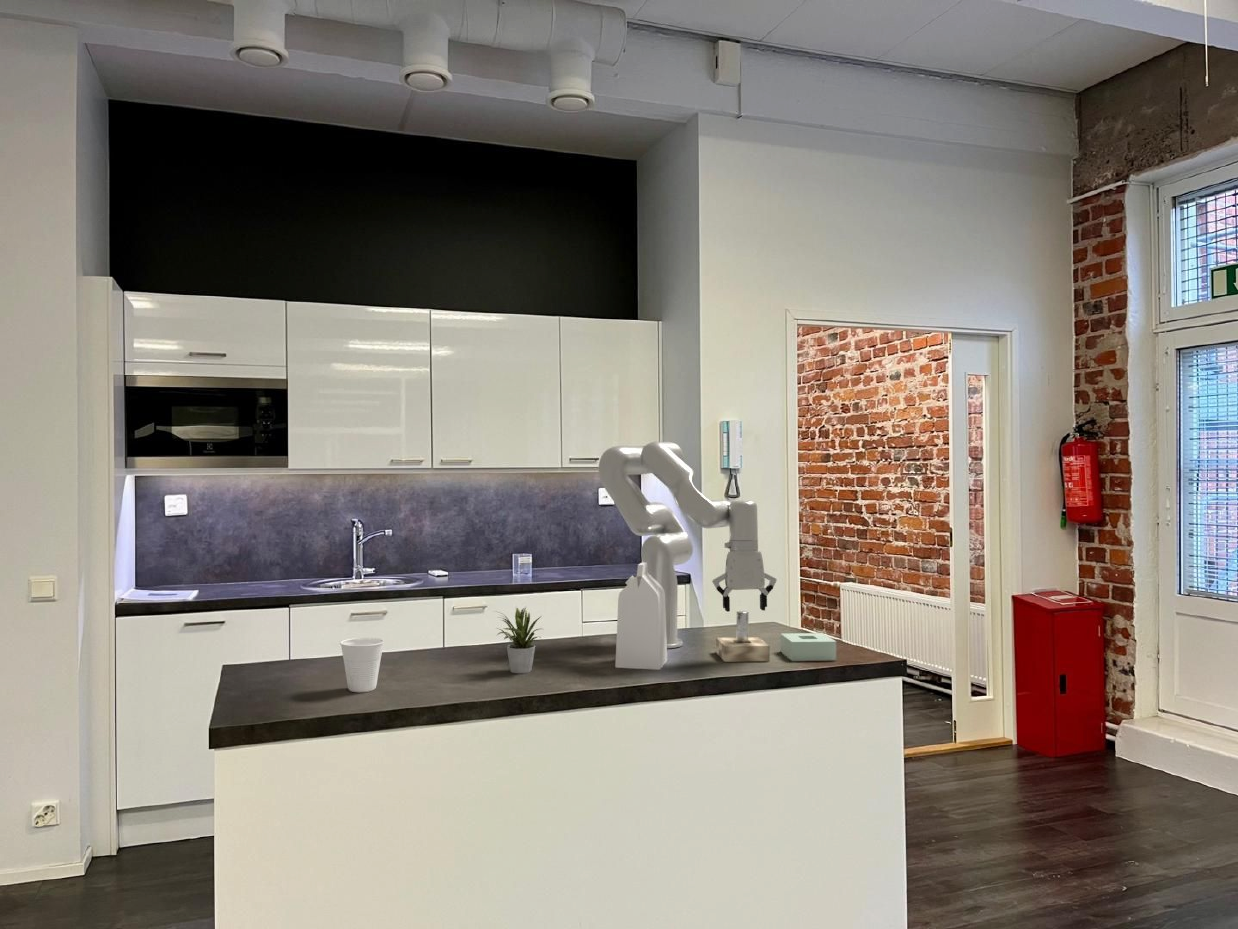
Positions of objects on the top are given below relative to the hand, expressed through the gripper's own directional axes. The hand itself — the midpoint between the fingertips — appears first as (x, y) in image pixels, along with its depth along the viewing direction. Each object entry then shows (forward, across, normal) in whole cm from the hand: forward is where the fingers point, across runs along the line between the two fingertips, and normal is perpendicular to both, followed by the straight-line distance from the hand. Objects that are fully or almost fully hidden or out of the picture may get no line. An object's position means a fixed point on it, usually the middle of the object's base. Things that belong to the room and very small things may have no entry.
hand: (745, 610), depth 258 cm
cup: (+11, -96, -30) cm, 101 cm away
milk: (+12, -29, -6) cm, 32 cm away
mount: (+12, -1, +1) cm, 13 cm away
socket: (+13, +17, +1) cm, 21 cm away
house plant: (+12, -61, -12) cm, 63 cm away
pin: (+12, -1, +1) cm, 13 cm away
